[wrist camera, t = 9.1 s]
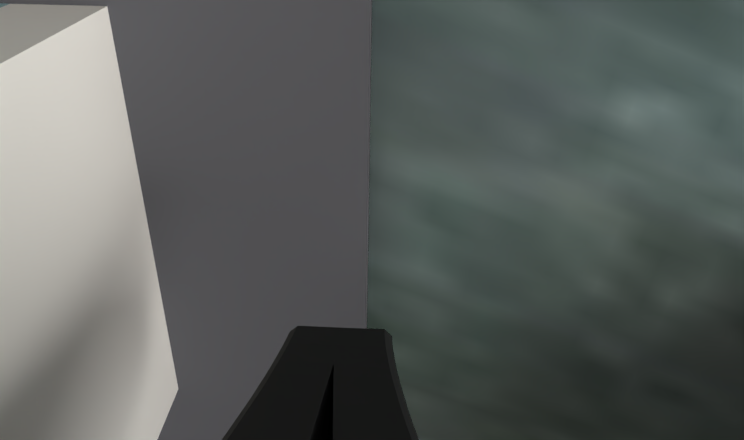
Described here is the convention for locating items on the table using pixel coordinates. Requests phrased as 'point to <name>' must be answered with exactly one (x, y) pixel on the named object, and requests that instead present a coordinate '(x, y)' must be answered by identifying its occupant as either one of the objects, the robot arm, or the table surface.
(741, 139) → the table surface
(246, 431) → the robot arm
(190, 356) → the mat
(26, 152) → the card deck
